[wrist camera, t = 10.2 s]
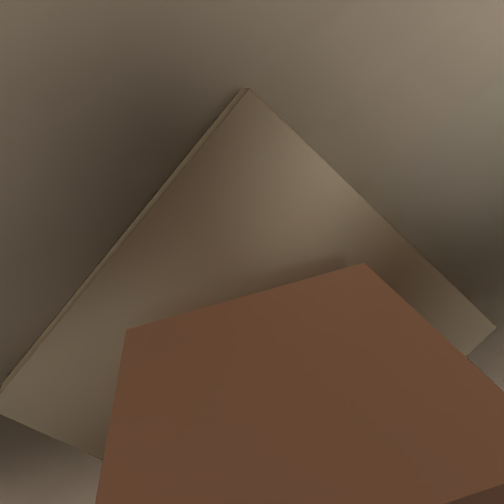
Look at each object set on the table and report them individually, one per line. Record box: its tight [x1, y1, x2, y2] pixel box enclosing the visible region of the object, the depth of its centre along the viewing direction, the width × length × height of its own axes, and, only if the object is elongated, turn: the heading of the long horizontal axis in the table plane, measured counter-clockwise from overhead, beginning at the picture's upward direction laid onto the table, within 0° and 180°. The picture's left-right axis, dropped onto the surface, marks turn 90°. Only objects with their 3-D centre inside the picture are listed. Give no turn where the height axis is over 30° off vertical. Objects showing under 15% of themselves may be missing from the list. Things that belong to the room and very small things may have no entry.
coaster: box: [0, 88, 497, 460], centre depth 11 cm, size 9×9×1 cm
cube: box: [95, 263, 504, 504], centre depth 7 cm, size 5×5×5 cm
